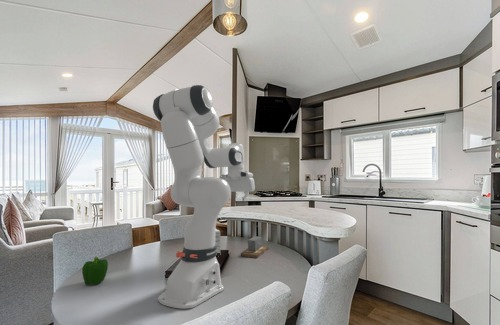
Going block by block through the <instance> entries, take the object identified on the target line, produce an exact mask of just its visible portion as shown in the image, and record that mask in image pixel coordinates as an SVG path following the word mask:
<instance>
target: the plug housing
mask: <svg viewBox="0 0 500 325" xmlns="http://www.w3.org/2000/svg"><path fill="white" fill-rule="evenodd" d="M262 238H263V237H262V236H257V235H254V236H253V237H251V238H250V239H248V240H247V248H248V251H251V252H256V251H257V250H259V249H260V248H262V246H263V243H262V242H263V240H262Z"/></svg>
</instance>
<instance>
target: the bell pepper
mask: <svg viewBox="0 0 500 325" xmlns="http://www.w3.org/2000/svg"><path fill="white" fill-rule="evenodd" d="M108 263H109V262H108V260H107V259H106V258H104V259H102V258H101V259H100V258H99V257H98V256H95V257H94V259H93V261H90V260H87V261H86V262H85V263H84V264H83V266H82V268H81V270H82V279H83V282H84V284H85V285H89V286H90V285H91V286H95V285H96V286H97V285H98V284H101V283H102V282H103V281H104V280H105V278H106V276H107V272H108V266H109V264H108Z"/></svg>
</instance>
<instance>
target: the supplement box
mask: <svg viewBox="0 0 500 325" xmlns="http://www.w3.org/2000/svg"><path fill="white" fill-rule="evenodd" d="M215 244H216V245H217V253H220V254H221V231H220V230H219V229H217V228H216V233H215Z"/></svg>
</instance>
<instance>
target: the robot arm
mask: <svg viewBox="0 0 500 325" xmlns="http://www.w3.org/2000/svg"><path fill="white" fill-rule="evenodd" d="M152 111H153V114H154V115H155V116H154V117H156V118H157V119H158V121H159V122H160V125H161V126H160V128H161V132H162V137H163V141H164V144H165V147H166V149H167V152H168V154H169V158H170V161H171V163H172V167H173V171H174V172H173V173H174V181H173V183H172V185H171V188H170V195H169V196H170V198H171V201H172V202H174V203H175V204H177V205H179V206H182V207H184V208H185V207H186V208H187V207H188V208H194V209H193V214H192V217H191V219H189V220H188V221H187V222H185V225H184V246H183V247H182V251H179V250H178V251H177V252H176V253H175V254H176V255H175V257H176V258H178V259H179V258H180V260H179V262H178V264H177V265H176V266H175V268H174V270H172V272H171V274H170V275H169V276H168V278H167V280H166V287H165V290H164V291H163V293H161V294H160V295H159V296H158V297H157V301H158V302H159V303H160V304H161V305H163V306H167V307H171V308H174V309H175V308H176V309H183V310H185V309H193V308H195V307H197V306H199V305H200V304H203V303H204V302H205V301H207V300H208V299H210V298H212V297H214V296H216V295H218V294H219V293H220V292H223V291H224V289H225V287H224V285H223V284H222V280H221V269H220V263H219V261H218V259H217V257H216V255H217V245H216V244H215V233H216V229H217V227H216V226H217V222H218V221H217V220H218V217H219V215H220V212H221V210H222V209H223V208H224V207H225V206H226V205H227V204H228V203H229V201H231V195H232V192H233V193H234V192H235V193H237V192H238V193H239V192H241V193H242V192H243V194H244V196H243V197H242V198H241V199H242V202H243V201H244V202H246V201H247V197H248V195H249V192H250V193H251V192H255V191H256V190H255V189H256V186H255V184H256V183H255V179H254V178H253V177H254V174H253V173H252V172H250V171H247V170H245V164H244V163H245V151H244V145H243V144H241V143H239V142H231V143H229V145H228V146H227V147H221V148H219V147H218V148H215V147H212V146H211V144H210V142H209V139H208V138H210V137H212V136H213V135H214V134H215V133H217V130H219V127H220V123H221V122H220V118H219V116H218V113H217V112H216V110H215V108H214V107H213V98H212V95H211V93H210V91H209V90H208V88H206V87H205V86H204V85H200V84H196V85H195V84H194V85H192V86H189V87H187V86H186V87H183V88H177V89H173V90H170V91H168V92H166V93H162V94H160V95H158V96H156V97H155V98H154V99H153V102H152ZM203 163H204V164H205V165H206V166H207V168H209V169H217V168H226V167H227V174H221V175H220V176H219V177H215V176H214V177H213V176H212V177H211V176H206V177H201V174H200V166H202V164H203Z"/></svg>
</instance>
